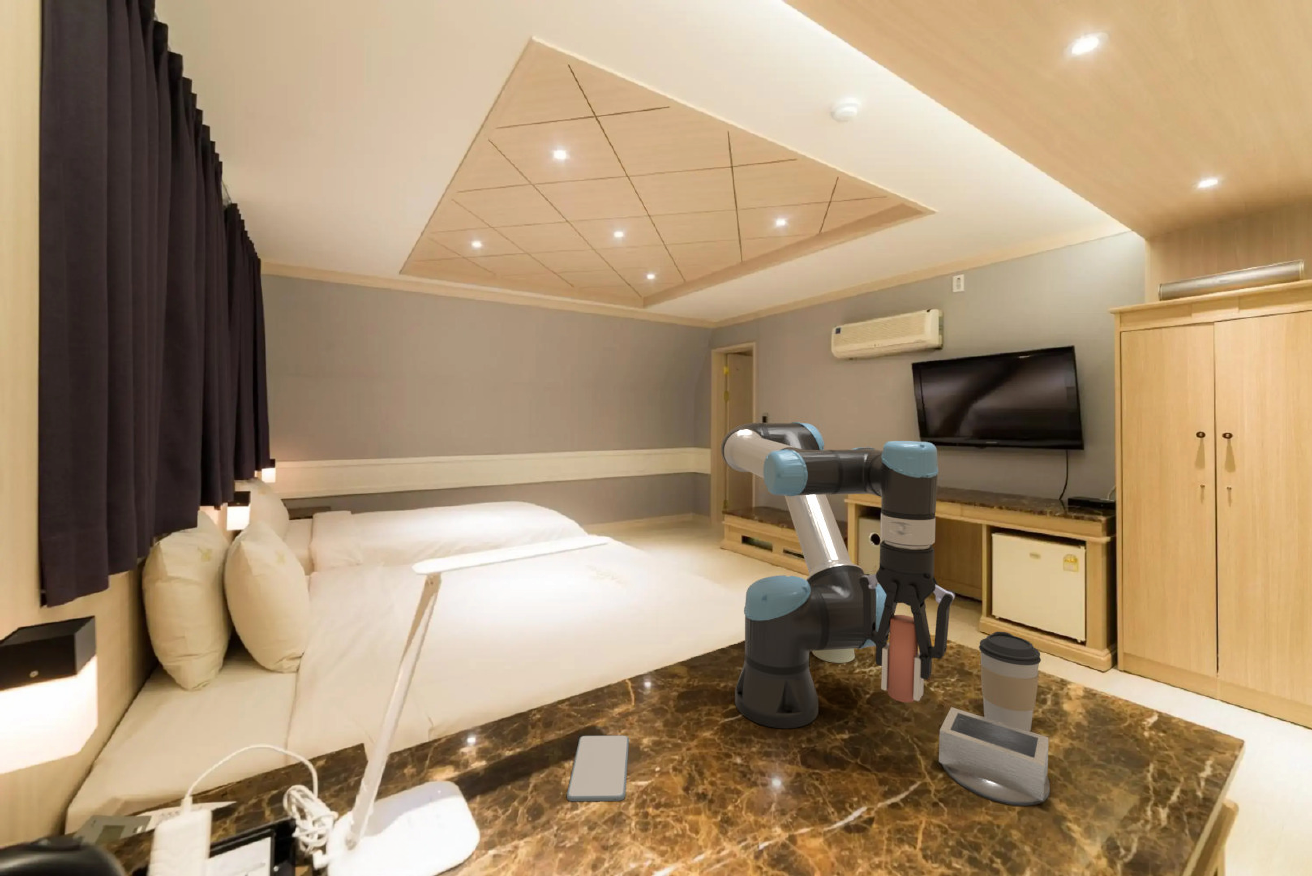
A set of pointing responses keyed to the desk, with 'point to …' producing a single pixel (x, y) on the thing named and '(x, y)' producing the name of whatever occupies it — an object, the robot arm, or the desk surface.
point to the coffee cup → (1009, 679)
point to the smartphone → (599, 769)
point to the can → (835, 655)
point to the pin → (902, 658)
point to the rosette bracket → (995, 759)
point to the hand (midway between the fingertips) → (902, 691)
